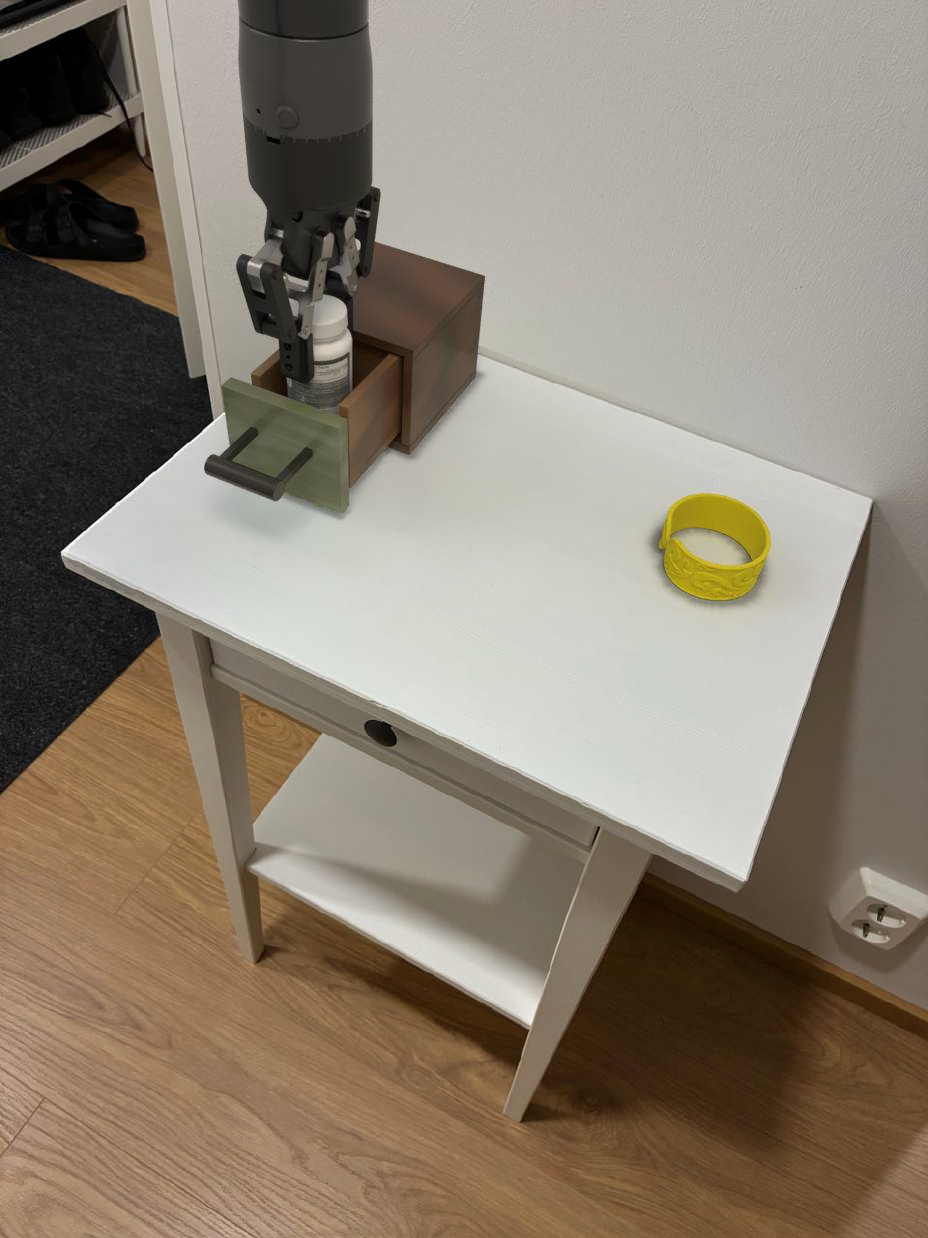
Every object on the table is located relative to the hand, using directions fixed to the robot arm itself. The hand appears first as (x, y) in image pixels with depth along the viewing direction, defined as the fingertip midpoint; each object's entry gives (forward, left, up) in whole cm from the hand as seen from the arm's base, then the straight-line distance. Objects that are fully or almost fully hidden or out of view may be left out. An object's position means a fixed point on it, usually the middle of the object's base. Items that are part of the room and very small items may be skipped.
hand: (318, 358), depth 69 cm
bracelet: (+27, -15, -10) cm, 32 cm away
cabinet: (+7, +8, -9) cm, 14 cm away
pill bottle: (0, 0, -5) cm, 5 cm away
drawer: (-1, -2, -9) cm, 9 cm away
